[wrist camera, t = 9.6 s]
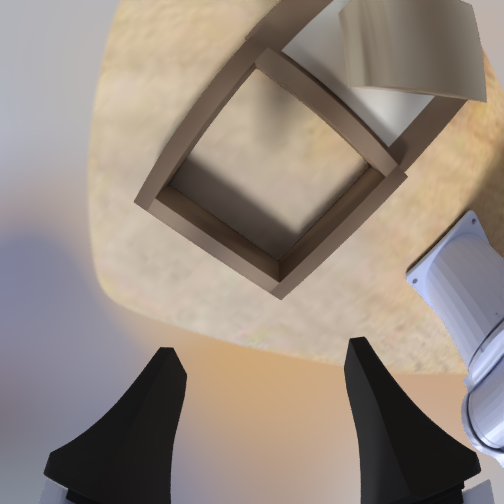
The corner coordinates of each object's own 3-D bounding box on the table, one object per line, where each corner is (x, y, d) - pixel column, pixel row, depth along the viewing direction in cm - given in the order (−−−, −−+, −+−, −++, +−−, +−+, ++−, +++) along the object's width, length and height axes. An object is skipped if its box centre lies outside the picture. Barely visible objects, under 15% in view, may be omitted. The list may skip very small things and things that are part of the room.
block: (411, 24, 9) (471, 5, 4) (420, 94, 12) (486, 102, 7) (338, 13, 10) (376, -26, 5) (348, 88, 12) (396, 84, 7)
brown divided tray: (471, 82, 11) (494, 84, 9) (284, 281, 20) (286, 303, 18) (344, -46, 8) (355, -62, 6) (143, 184, 17) (126, 197, 15)
